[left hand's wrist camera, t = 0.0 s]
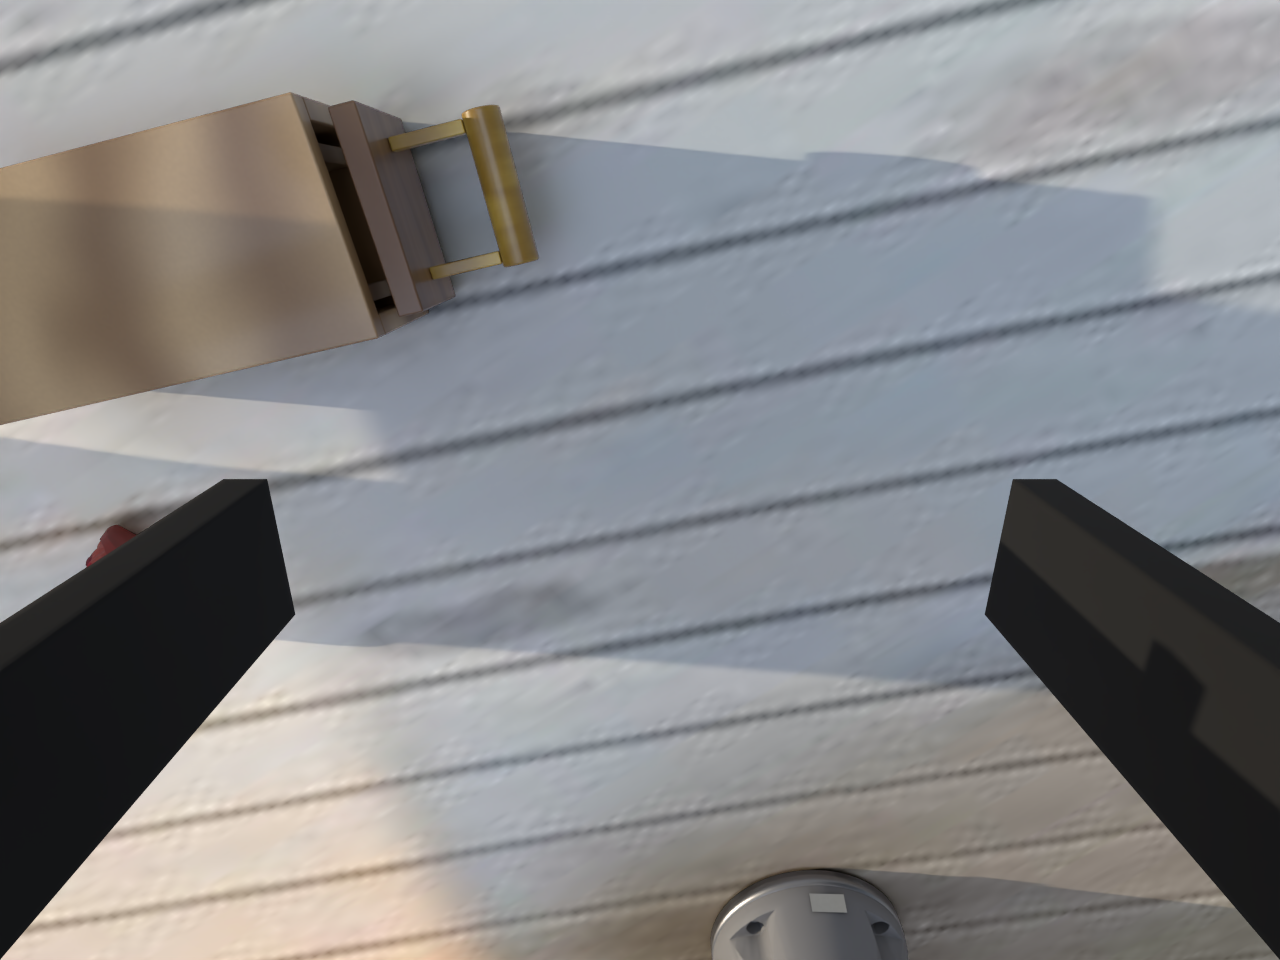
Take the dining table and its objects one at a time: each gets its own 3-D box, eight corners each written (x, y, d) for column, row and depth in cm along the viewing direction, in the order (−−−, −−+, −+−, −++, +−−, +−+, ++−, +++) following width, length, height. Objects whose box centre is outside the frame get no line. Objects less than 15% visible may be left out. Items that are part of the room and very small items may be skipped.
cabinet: (365, 117, 35) (290, 91, 27) (429, 313, 38) (378, 338, 31) (14, 207, 36) (-148, 206, 29) (106, 388, 40) (-17, 429, 32)
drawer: (504, 91, 34) (477, 67, 28) (551, 274, 37) (535, 286, 31) (62, 204, 36) (-48, 203, 30) (142, 369, 39) (56, 397, 33)
